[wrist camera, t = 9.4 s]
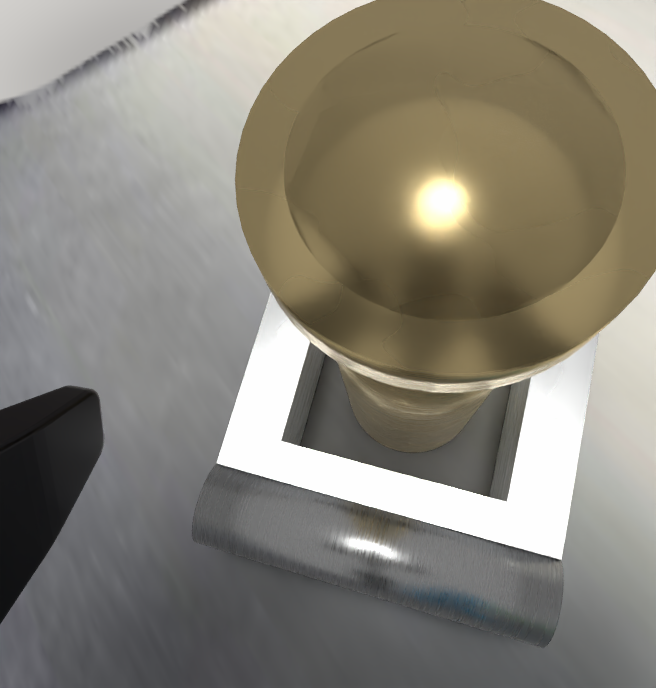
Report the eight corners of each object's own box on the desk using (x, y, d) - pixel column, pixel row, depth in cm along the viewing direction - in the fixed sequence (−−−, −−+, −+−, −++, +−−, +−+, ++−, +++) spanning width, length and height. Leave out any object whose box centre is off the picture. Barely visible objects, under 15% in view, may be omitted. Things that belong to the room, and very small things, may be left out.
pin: (436, 506, 19) (532, 469, 6) (299, 410, 20) (150, 222, 7) (525, 368, 20) (761, 97, 7) (388, 284, 21) (388, -69, 8)
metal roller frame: (517, 629, 18) (573, 671, 12) (222, 540, 19) (161, 545, 14) (586, 247, 21) (653, 153, 15) (327, 195, 22) (310, 93, 17)
